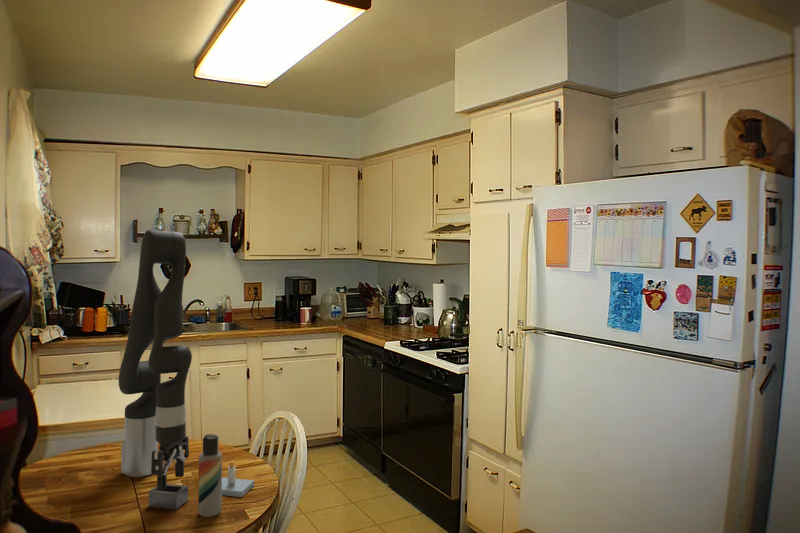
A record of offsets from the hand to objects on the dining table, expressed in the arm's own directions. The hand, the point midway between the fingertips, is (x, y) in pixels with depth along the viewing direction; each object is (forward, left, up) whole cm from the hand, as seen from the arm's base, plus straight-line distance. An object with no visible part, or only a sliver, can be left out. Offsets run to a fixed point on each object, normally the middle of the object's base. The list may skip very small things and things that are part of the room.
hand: (170, 482), depth 156 cm
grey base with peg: (+11, +12, -6) cm, 17 cm away
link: (-1, 0, -6) cm, 6 cm away
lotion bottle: (+12, -2, -6) cm, 14 cm away
